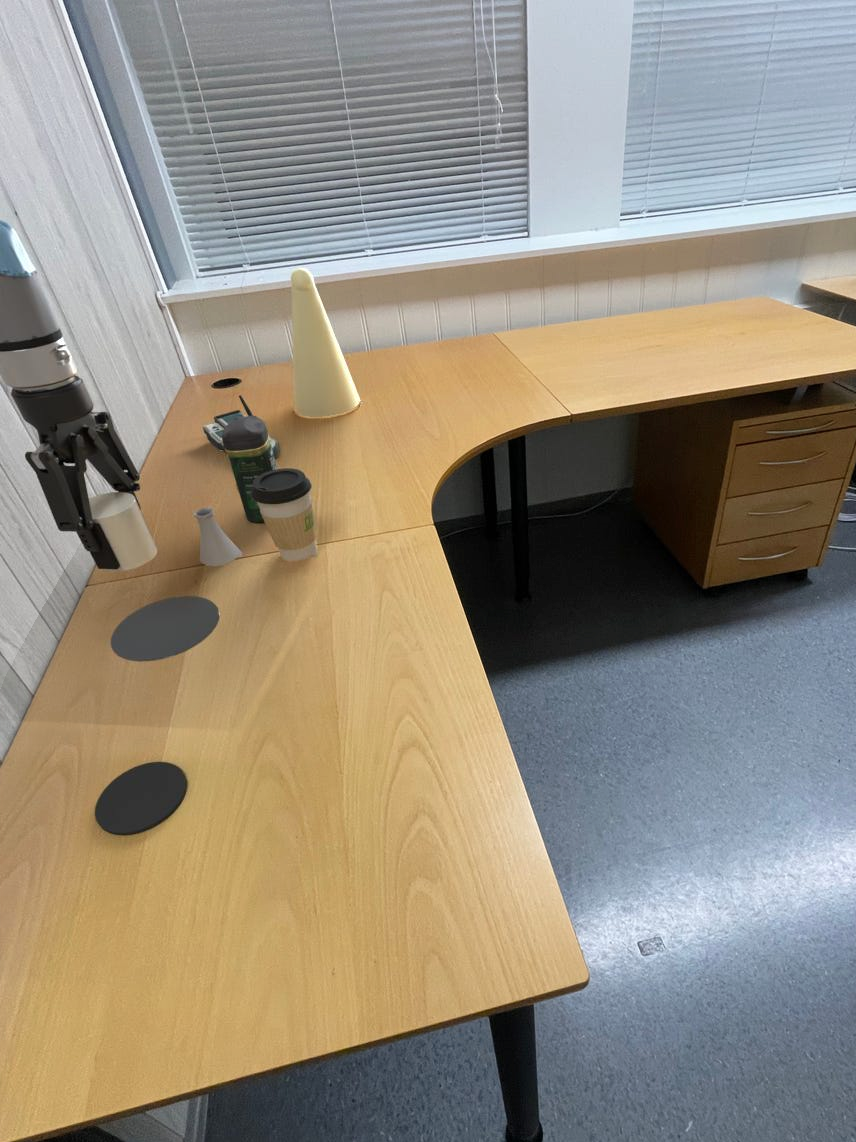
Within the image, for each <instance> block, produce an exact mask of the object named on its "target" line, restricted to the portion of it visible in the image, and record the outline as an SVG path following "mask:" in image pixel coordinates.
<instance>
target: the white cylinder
mask: <svg viewBox="0 0 856 1142" xmlns="http://www.w3.org/2000/svg"><path fill="white" fill-rule="evenodd" d="M88 498H89V503H90V508H91V514H92V519H93V523H98V524H100V526H101V528H102V530H103V532H104V534H105V536H106V538H107V540H108V542H109V544H110V546H111V548H112V550H113V552H114V554H115V556H116V558H117V560H118V562H119V564H120V567H119V568H118V569H102V570H103V571H106V572H110V573H120V572H127V571H131V570H134V569H137V568H139V567H141V566H142V567H143V566H144V565H146V564H148V563H149V562H150V561H152V560H153V559H154V558H155V557H156V555H157V553H158V547H157V545H156V543H155V540H154V538H153V536H152V533H151V531H149V530H150V528H149V526H148V524H147V521H146V519H145V517H144V515H142V514H143V512H142V509H141V510H140V508H139V506H138V504H137V501H136V499H135V497H134V496H133V495H132V494H129V493H125V492H118V491H113V492H112V491H111V492H105V493H100V494H98V495H97V494H96V495H94V496H92V497H88ZM141 512H142V513H141ZM80 519H82V518H81V517H80ZM144 519H145V520H144ZM145 521H146V522H145ZM148 528H149V529H148Z"/></svg>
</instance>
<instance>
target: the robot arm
mask: <svg viewBox="0 0 856 1142" xmlns="http://www.w3.org/2000/svg"><path fill="white" fill-rule="evenodd" d="M78 371H79V369H78V366H77V365H76V362H75V360H74V358H73V356H72V354H71V351H70V349H69V346H68V345H67V343H66V340H65V338H64V336H63V332H62V330H61V328H60V326H59V324H58V321H57V319H56V317H55V314H54V312H53V309H52V307H51V304H50V302H49V300H48V297H47V296H46V293H45V291H44V288H43V285H42V283H41V281H40V278H39V276H38V272H37V269H36V266H35V265H33V263H32V261H31V259H30V256H29V255H28V253H27V251H26V250H25V247H24V244H23V242H22V241H21V239H20V237H19V235H18V233H17V231H16V230H15V229H14V227H13V226H11V225H10V224H9V223H8V222H6V221H3V220H1V219H0V377H1V379H2V381H3V383H4V384H5V385H6V386H7V387H10V388H12V389H11V392H10V396H11V397H12V399H13V401H14V403H15V405H16V407H17V409H18V411H19V413H20V416H21V417H22V419H23V420H24V421H25V422H26V423H27V424H29V425H31V427H33V428H34V429H36V432H37V435H38V442H39V444H40V445H39V446H38V448H36V449H35V451H26V452H25V454H24V458H25V460H26V462H27V463H28V464H29V466H30V467H31V468H32V470H33V471H34V473H35V475H36V477H37V480H38V482H39V484H40V487H41V489H42V493H43V495H44V497H45V500H46V503H47V504H48V507H49V509H50V512H51V515H52V517H53V520H54V522H55V524H56V527H57V530H58V531H60V532H75V533H76V534H77V536H78V538H79V540H80V542H81V544H82V546H83V548H84V549H85V550H86V551H87V552H89V554H90V556H91V557H92V560H93V561H94V563H95V566H96V568H97V569H98V570H103V569H118V568H119V567H120V564H119V562H118V560H117V558H116V556H115V554H114V552H113V550H112V548H111V546H110V544H109V542H108V540H107V538H106V536H105V534H104V532H103V530H102V528H101V526H100V524H98V523H93V519H92V514H91V508H90V503H89V498H90V497H89V494H88V487H87V482H86V477H85V473H86V472H87V462H86V461H88V462H89V463H90V464H91V465H92V467H93V468H95V470H96V471H97V472H98V473H99V474H100V476H101V477H102V478H103V479H104V480H105V481H106V482H107V484H108V485H109V486H110V487H111V488H112V489H113V490H114V492H125V493H129V494H132V495H133V496H134V497H135V499H136V501H137V504H138V506H139V508H140V510H141V513H142V515H143V512H142V507H141V504H140V502H139V500H138V498H137V495H136V492H139V491H140V490H141V485H140V483H139V482H138V481H140V477H141V476H140V474H139V471H138V470H137V468H136V466H135V464H134V462H133V460H132V458H131V457H130V455H129V453H128V452H127V449H126V448H125V446H124V444H123V442H122V440H121V439H120V437H119V435H118V433H117V431H116V429H115V427H114V423H113V420H112V416H111V414H110V412H108V411H93V410H94V403H93V401H92V398H91V395H90V393H89V391H88V389H87V386H86V384H85V382H84V380H83V378H81V377H80V376H78V375H77V374H78ZM66 464H68V465H66ZM70 464H71V465H70ZM137 482H138V483H137ZM143 516H144V515H143ZM80 517H81V518H82V519H80ZM144 520H145V522H146V523H147V521H146V518H144ZM148 529H149V531H150V530H151V529H150V528H149V527H148ZM150 532H151V531H150Z"/></svg>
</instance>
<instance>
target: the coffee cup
mask: <svg viewBox="0 0 856 1142" xmlns="http://www.w3.org/2000/svg"><path fill="white" fill-rule="evenodd" d="M311 490H312V482H311V480H310V479H309V478H308V477H307V476H306V474H305V473H304V471H302V470H300V469H297V468H292V467H290V468H289V467H288V468H287V467H286V468H284V467H283V468H277V469H276V470H271V471H268V472H265V473H263V474H261V475H259V476H258V477H257V478H255V480H254V481H253V488H252V491H251V493H252V498H253V499H254V500H255V501H256V502H257V503H258V506H259V508H260V513H261V515H262V517H263V519H264V522H263V523H264V524H265V526H266V529H267V530H268V533H269V535H270V538H271V539H272V541H273V544H274V546H275V547H276V548H277V551H278V553H279V555H280V557H281V559H283V560H285V561H288V562H300V561H304V560H307V559H309V558H310V559H311V558H313V559H314V558H315V557H316V556H317V557H318V554H317V553H318V547H317V539H316V538H317V532H316V522H315V515H314V506H313V500H312V498H311V497H312V496H311ZM317 557H316V558H317ZM316 558H315V559H316Z"/></svg>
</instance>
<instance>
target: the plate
mask: <svg viewBox="0 0 856 1142" xmlns="http://www.w3.org/2000/svg"><path fill="white" fill-rule="evenodd" d="M220 612H221V611H220V609H219V607H218V606H217V604H216V603H215V602H214V601H212V600H210V599H208V598H206V597H202V596H198V595H197V596H196V595H180V596H178V595H177V596H172V597H168V598H163V599H160V600H156V601H153V602H151V603H148V604H146V605H144V606H142V607H139V608H138V609H136V610H135V611H133V612H132V613H130V614H129V615H128V616H126V617H125V618H124V619H123V620H121V622H120V623H119V624H118V625H117V626H116V627H115V629H114V631H113V632H112V634H111V636H110V647H111V649H112V651H113V653H114V654H116V655H117V656H118V657H120V658H122V659H124V660H128V661H132V662H153V661H159V660H164V659H168V658H171V657H172V658H173V657H175V656H177V655H180V654H183V653H185V652H186V651H188V650H191V649H192V648H194V647H196V646H198V645H199V644H200V643H201V642H203V641H205V639H207V638H208V637H209V636H210V635H211V634H212V633H213V632H214V630H215V629H216V627H217V626H218V624H219V622H220V616H221V614H220Z"/></svg>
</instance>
